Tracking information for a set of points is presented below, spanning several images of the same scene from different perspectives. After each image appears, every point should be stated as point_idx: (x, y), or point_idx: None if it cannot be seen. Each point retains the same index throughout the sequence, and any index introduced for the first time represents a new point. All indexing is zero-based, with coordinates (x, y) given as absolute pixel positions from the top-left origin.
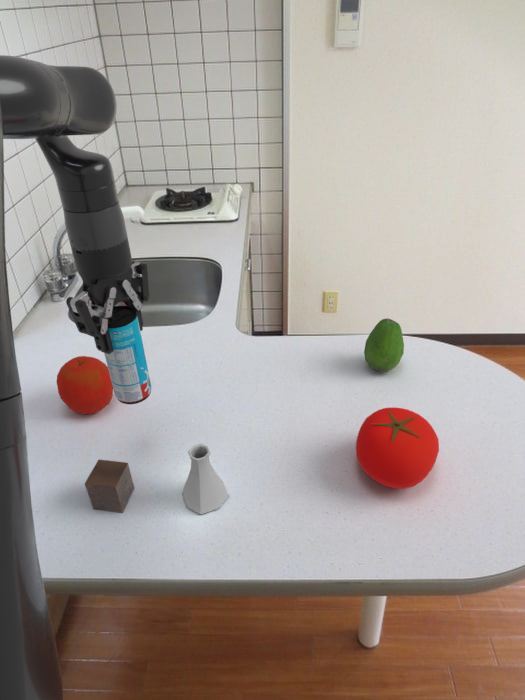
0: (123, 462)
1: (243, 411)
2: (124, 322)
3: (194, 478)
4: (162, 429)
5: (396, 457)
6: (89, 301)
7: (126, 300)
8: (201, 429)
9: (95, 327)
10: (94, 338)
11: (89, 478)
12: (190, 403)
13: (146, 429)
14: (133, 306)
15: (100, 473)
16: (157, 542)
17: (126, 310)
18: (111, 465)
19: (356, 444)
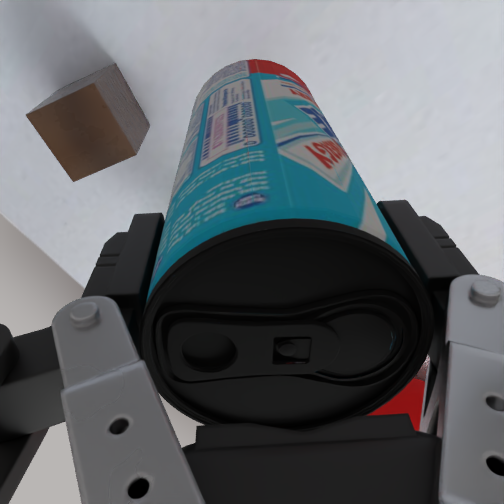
0: (130, 145)
1: (446, 177)
2: (259, 406)
3: None
4: (321, 49)
5: None
6: (81, 486)
7: (426, 412)
8: (360, 134)
9: (30, 455)
10: (88, 285)
11: (42, 113)
12: (437, 46)
13: (303, 8)
14: (427, 380)
15: (70, 125)
16: (101, 237)
17: (383, 345)
18: (104, 128)
19: (386, 411)
